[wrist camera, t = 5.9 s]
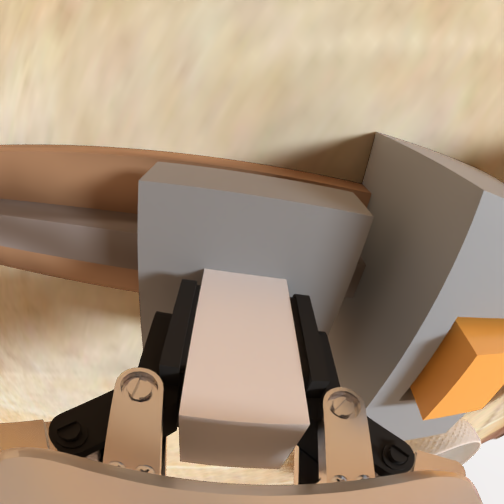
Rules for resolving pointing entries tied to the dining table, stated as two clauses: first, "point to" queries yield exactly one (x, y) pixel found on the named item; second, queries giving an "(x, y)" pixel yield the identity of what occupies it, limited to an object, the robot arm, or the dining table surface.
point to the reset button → (462, 369)
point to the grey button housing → (417, 277)
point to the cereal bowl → (450, 442)
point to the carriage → (244, 297)
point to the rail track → (98, 208)
